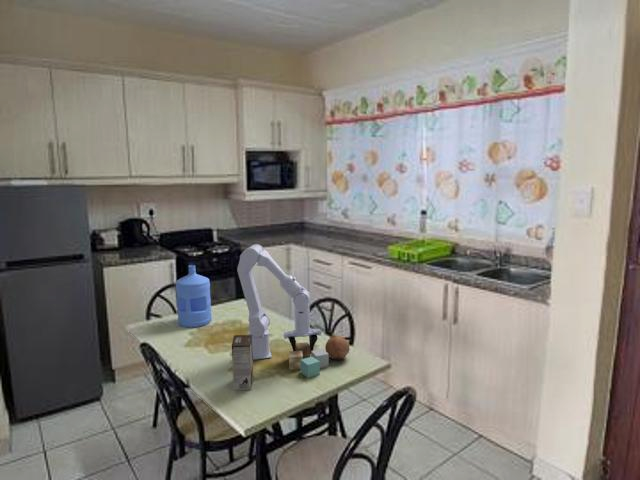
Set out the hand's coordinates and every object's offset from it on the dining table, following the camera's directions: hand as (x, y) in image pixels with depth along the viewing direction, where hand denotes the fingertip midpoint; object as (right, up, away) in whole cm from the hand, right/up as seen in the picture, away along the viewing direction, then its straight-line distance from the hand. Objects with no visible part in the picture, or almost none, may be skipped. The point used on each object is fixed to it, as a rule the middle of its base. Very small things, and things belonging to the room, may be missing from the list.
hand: (302, 353), depth 172 cm
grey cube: (+7, -3, -6) cm, 10 cm away
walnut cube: (0, -2, 0) cm, 2 cm away
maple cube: (-2, -3, -7) cm, 8 cm away
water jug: (-54, +5, +40) cm, 67 cm away
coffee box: (-20, -5, -20) cm, 29 cm away
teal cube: (+3, -4, -13) cm, 14 cm away
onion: (+14, -2, -1) cm, 14 cm away
